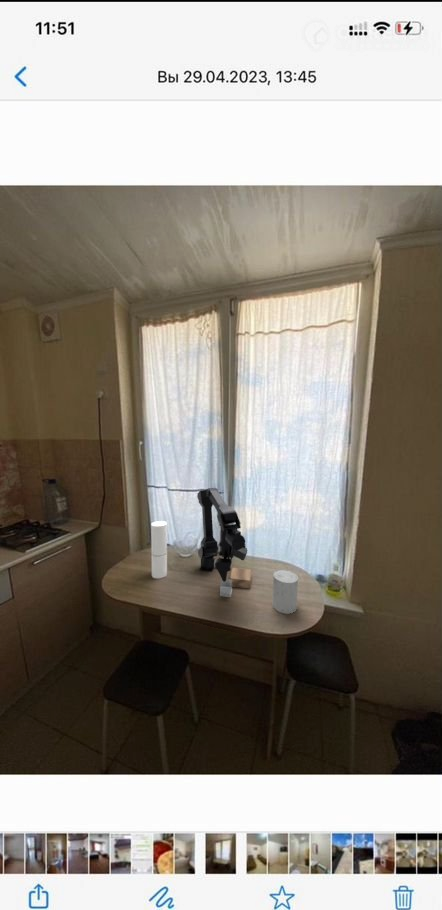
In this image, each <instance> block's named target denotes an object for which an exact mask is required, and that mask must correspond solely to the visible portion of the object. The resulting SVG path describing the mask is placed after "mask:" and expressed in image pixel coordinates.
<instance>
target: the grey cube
mask: <svg viewBox="0 0 442 910" xmlns="http://www.w3.org/2000/svg"><path fill="white" fill-rule="evenodd" d="M232 581H233V580H230V578H226V582H224V581H223V580H222V579H221V581H220V584H219V586H220V587H219V596H220V597H224V598H231V597H232V593H233V587H232Z"/></svg>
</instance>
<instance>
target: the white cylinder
mask: <svg viewBox="0 0 442 910" xmlns="http://www.w3.org/2000/svg"><path fill="white" fill-rule="evenodd" d="M272 576H273V580H272V581H273V582H272V602H271V603H272V607H273V608H274V609H275V610H276V611H278V613H281V614H284V615H288V614H289V615H290V613H291V614H293V612H294V613H295V612H297V610H298V609H297V608H298V588H299V584H298V583H299V575H298V574H296V572H294V571H292V570H289V569H284V568H281V569H279V568H278V569H276V570H275V571H273V573H272ZM296 609H297V610H296Z"/></svg>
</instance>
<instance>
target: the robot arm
mask: <svg viewBox="0 0 442 910" xmlns="http://www.w3.org/2000/svg"><path fill="white" fill-rule="evenodd" d="M197 500H198V504H199V506H201V510H202V527H203V528H202V531H203V538H202V540H201V541H200V547H199V549H198V550H197V554H198V557H199V559H200V568H199V571H207V572H213V571H214V570H217V572H218V574H219V576H220V579H221V580H223V581H224V582H226V579H228V578H227V576H228V572H230V571H232V568H233V566H232V565H233V561H232V559H233V558H234V557H235V558H238V559H239V560H241V561H244V560H245V559H246V556H247V554H248V551H249V550H248V548H247V546H246V538H245V537H244V536H243V535H242V532H241V531H240V530H239V529H241V528H242V527H241V521H240V518H239V516H238V512H237V511H236V510H235V509H234V508H233V507H232V506H231V505H228V504H227V503H226V501H225V500H224V498H223V497H222V495H221V494H220V492H219V489H218V488H217V487H208V488H206V489H201V490H199V492H197ZM212 507H214V508H215V510H216V512H217V515H216V517H217V521H218V524H219V528H220V531H219V532H220V533H219V534H220V535H219V537H220V539H219V543H218V541H217V540H216V539H215V538H214V528H213V510H212ZM218 544H219V545H218ZM217 556H221V557H218V558H216V557H217Z"/></svg>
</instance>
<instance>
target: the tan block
mask: <svg viewBox="0 0 442 910" xmlns="http://www.w3.org/2000/svg"><path fill="white" fill-rule="evenodd" d="M229 579H230V580H233V581H232V588H233V587H234V588H242V589H251V584H252V583H251V582H252V569H249V568H248V569H247V568H239V567H231V573H230V578H229Z"/></svg>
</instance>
